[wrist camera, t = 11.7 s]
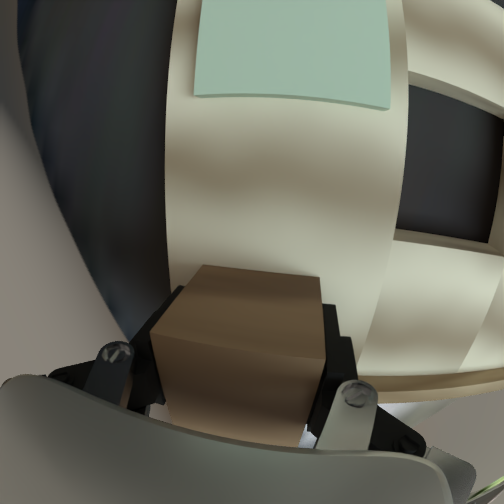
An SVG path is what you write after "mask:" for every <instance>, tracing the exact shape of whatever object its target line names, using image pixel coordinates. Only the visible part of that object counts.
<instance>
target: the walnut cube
mask: <svg viewBox="0 0 504 504" xmlns="http://www.w3.org/2000/svg"><path fill="white" fill-rule="evenodd" d="M150 337H151V342H152V346H153V351H154V356H155V360H156V364H157V368H158V372H159V377H160V380H161V384H162V388H163V392H164V396H165V399H166V402H167V406H168V410H169V413H170V416H171V420H172V423H173V425H177V426H180V427H184V428H187V429H191V430H195V431H199V432H203V433H208V434H212V435H217V436H221V437H226V438H231V439H237V440H242V441H248V442H255V443H262V444H270V445H278V446H288V447H298V444H299V442H300V439H301V436H302V433H303V431H304V428H305V425H306V422H307V419H308V416H309V413H310V410H311V407H312V404H313V401H314V398H315V395H316V391H317V388H318V385H319V381H320V378H321V375H322V371H323V368H324V364H325V360H326V354H325V337H324V322H323V309H322V297H321V286H320V277H313V276H304V275H294V274H284V273H275V272H266V271H257V270H248V269H239V268H230V267H222V266H213V265H205V264H203V265H202V266H201V267H200V269H199V270H198V271H197V272H196V274H195V275H194V276H193V277H192V279H191V280H190V281H189V282H188V284H187V285H186V286H185V287H184V289H183V290H182V291H181V292H180V294H179V295H178V296H177V297H176V299H175V300H174V301H173V303H172V304H171V305H170V306H169V308H168V309H167V310H166V311H165V313H164V314H163V315H162V317H161V318H160V319H159V320H158V322H157V323H156V324H155V326H154V327H153V328H152V329H151V331H150Z"/></svg>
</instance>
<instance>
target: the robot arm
mask: <svg viewBox="0 0 504 504" xmlns="http://www.w3.org/2000/svg"><path fill="white" fill-rule="evenodd" d="M184 287H185V286H182V285H179V286H177V288H176V289H175V290H174V291H173V292H172V294H171V295H170V296H169V297H168V298H167V300H166V301H165V302H164V303H163V304H162V306H161V307H160V308H159V309H158V310H157V311H155V312H154V313H153V314H152V316H151V317H150V318H149V319H148V320H147V322H146V323H145V324H144V325H143V326H142V328H141V329H140V330H139V331H138V333H137V334H136V335H135V336H134V337H133V339H132V340H131V341H130V342H129V343H127V342H122V341H115V342H110V343H108V344H106V345H105V346H103V347H102V348H101V350H100V351H99V353H98V355H97V358H96V360H93V361H88V362H84V363H80V364H76V365H71V366H67V367H63V368H59V369H56V370H54V371H53V372H51V373H50V374H49V376H48V377H47V376H46V375H32V374H23V375H18V376H15V377H13V378H9V379H7V380H6V381H5V382H4V383H3V384H2V386H1V387H0V504H465V503H466V501H467V499H468V497H469V495H470V492H471V490H472V487H473V485H474V483H475V479H476V470H475V469H474V467H473V466H472V465H471V464H470V463H468V462H466V461H463V460H461V459H459V458H457V457H455V456H453V455H450V454H448V453H446V452H444V451H442V450H440V449H438V448H436V447H434V446H432V447H431V448H429V447H427V446H426V442H425V440H424V438H423V437H422V436H421V435H420V434H419V433H417V432H416V431H415V430H413V429H412V428H410V427H409V426H407V425H406V424H404V423H403V422H401V421H400V420H398V419H397V418H395V417H394V416H392V415H391V414H389V413H388V412H386V411H385V410H383V409H382V408H381V407H379V406H378V405H377V403H378V393H377V391H376V389H375V388H374V387H373V386H372V385H370V384H369V383H367V382H364V381H362V380H358V373H357V367H356V361H355V355H354V349H353V344H352V339H351V337H349V336H340V330H339V323H338V317H337V310H336V305H335V304H324V303H322V309H323V322H324V337H325V354H326V360H325V364H324V368H323V371H322V375H321V378H320V381H319V385H318V388H317V391H316V395H315V398H314V401H313V404H312V407H311V410H310V413H309V416H308V419H307V422H306V424H307V431H308V432H311V433H312V434H313V435H314V436H315V437H316V438H317V440H316V442H315V444H314V447H313V449H310V448H296V447H286V446H277V445H269V444H261V443H255V442H248V441H242V440H237V439H231V438H226V437H221V436H217V435H212V434H208V433H203V432H199V431H195V430H191V429H187V428H184V427H180V426H177V425H173V424H169V423H166V422H163V421H160V420H156V419H153V418H150V417H149V412H150V404H153V403H158V404H161V405H164V404H165V402H166V399H165V396H164V392H163V388H162V384H161V380H160V377H159V372H158V368H157V364H156V360H155V356H154V351H153V346H152V342H151V337H150V331H151V329H152V328H153V327H154V326H155V324H156V323H157V322H158V320H159V319H160V318H161V317H162V315H163V314H164V313H165V311H166V310H167V309H168V308H169V306H170V305H171V304H172V303H173V301H174V300H175V299H176V297H177V296H178V295H179V294H180V292H181V291H182V290H183V289H184Z"/></svg>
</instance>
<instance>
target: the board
mask: <svg viewBox="0 0 504 504" xmlns="http://www.w3.org/2000/svg"><path fill="white" fill-rule="evenodd" d="M201 8H202V0H178V1H177V7H176V14H175V21H174V28H173V36H172V44H171V54H170V64H169V75H168V89H167V106H166V130H165V203H166V228H167V246H168V261H169V273H170V285H171V294H172V292H173V291H174V290H175V289H176V288H177V286H179V285H182V286H186V285H187V284H188V282H189V281H190V280H191V279H192V277H193V276H194V275H195V274H196V272H197V271H198V270H199V269H200V267H201V266H202V265H203V264H205V265H213V266H222V267H230V268H239V269H248V270H257V271H266V272H275V273H284V274H294V275H304V276H313V277H320V286H321V297H322V303H324V304H335V305H336V310H337V317H338V323H339V330H340V336H349V337H351V339H352V344H353V349H354V355H355V361H356V367H357V373H358V380H362V381H364V382H367V383H369V384H370V385H372V386H373V387H374V388H375V389H376V391H377V393H378V403H377V404H380V403H407V402H422V401H433V400H442V399H451V398H458V397H465V396H471V395H477V394H483V393H487V392H493V391H497V390H502V389H504V138H503V156H502V167H501V176H500V184H499V191H498V198H497V204H496V209H495V214H494V219H493V224H492V229H491V233H490V237H489V241H488V244H487V243H481V242H476V241H470V240H465V239H459V238H453V237H447V236H441V235H435V234H429V233H422V232H416V231H409V230H402V229H395V226H396V220H397V214H398V208H399V202H400V195H401V188H402V181H403V172H404V163H405V153H406V140H407V124H408V84H410V85H414V86H417V87H421V88H424V89H427V90H431V91H434V92H437V93H440V94H443V95H446V96H449V97H451V98H454V99H457V100H460V101H462V102H465V103H467V104H470V105H472V106H475V107H477V108H480V109H482V110H484V111H486V112H489V113H491V114H493V115H495V116H497V117H499V118H501V119H503V120H504V9H503V8H501V7H500V6H498V5H497V4H495V3H493V2H492V1H490V0H386V8H387V17H388V28H389V42H390V65H391V103H390V109H389V110H387V111H379V110H374V109H369V108H363V107H357V106H351V105H344V104H337V103H329V102H320V101H311V100H299V99H285V98H263V97H219V98H199V97H197V96H194V80H195V67H196V55H197V44H198V34H199V24H200V16H201Z"/></svg>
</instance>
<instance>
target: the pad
mask: <svg viewBox="0 0 504 504" xmlns="http://www.w3.org/2000/svg"><path fill="white" fill-rule="evenodd" d="M194 96H197V97H199V98H219V97H263V98H285V99H299V100H311V101H320V102H329V103H337V104H344V105H351V106H357V107H363V108H369V109H374V110H379V111H387V110H389V109H390V103H391V65H390V42H389V28H388V17H387V8H386V0H202V8H201V16H200V24H199V34H198V44H197V55H196V67H195V80H194Z"/></svg>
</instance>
